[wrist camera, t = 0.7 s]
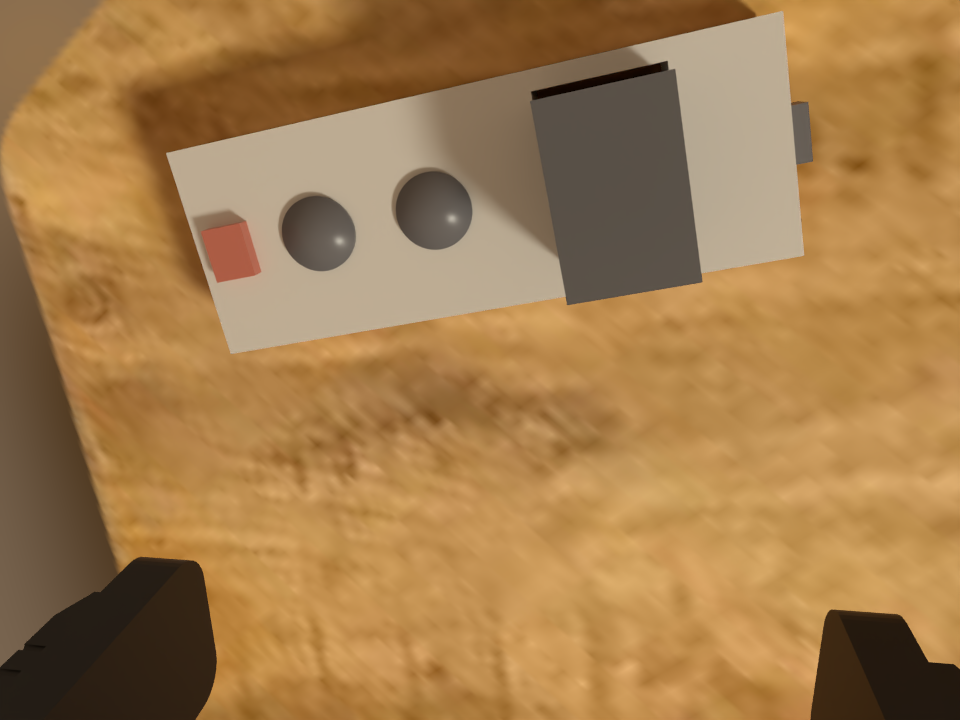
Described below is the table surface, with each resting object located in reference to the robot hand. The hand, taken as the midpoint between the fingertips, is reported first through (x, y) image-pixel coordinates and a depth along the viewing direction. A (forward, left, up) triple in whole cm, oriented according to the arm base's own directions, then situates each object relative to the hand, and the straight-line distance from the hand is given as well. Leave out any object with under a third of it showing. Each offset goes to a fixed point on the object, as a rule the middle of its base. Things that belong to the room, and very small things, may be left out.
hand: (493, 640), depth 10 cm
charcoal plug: (-3, -3, -23) cm, 23 cm away
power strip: (+2, -3, -23) cm, 23 cm away
